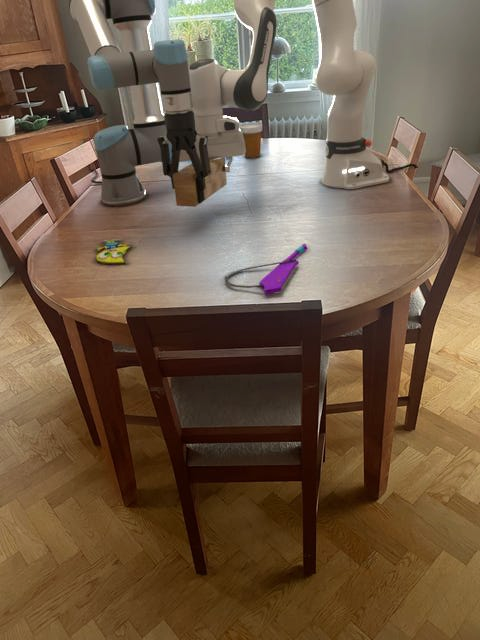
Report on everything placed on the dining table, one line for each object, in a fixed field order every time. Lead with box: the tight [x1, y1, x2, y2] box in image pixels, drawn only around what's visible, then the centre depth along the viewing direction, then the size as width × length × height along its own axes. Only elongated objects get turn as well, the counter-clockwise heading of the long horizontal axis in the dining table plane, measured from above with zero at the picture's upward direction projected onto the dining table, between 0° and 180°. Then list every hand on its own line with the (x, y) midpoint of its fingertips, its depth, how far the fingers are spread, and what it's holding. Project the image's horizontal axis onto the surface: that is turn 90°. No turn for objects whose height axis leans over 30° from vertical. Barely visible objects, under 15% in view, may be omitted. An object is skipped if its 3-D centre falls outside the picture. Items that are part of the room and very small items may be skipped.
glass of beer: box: [239, 123, 263, 159], centre depth 199 cm, size 10×10×12 cm
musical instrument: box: [224, 243, 308, 296], centre depth 113 cm, size 24×2×20 cm
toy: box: [95, 238, 133, 265], centre depth 129 cm, size 10×1×15 cm
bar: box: [173, 157, 228, 208], centre depth 137 cm, size 23×6×9 cm, turn 160°
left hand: (190, 201), depth 132 cm, fingers closed on bar, 6 cm apart
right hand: (213, 173), depth 144 cm, fingers closed on bar, 7 cm apart
